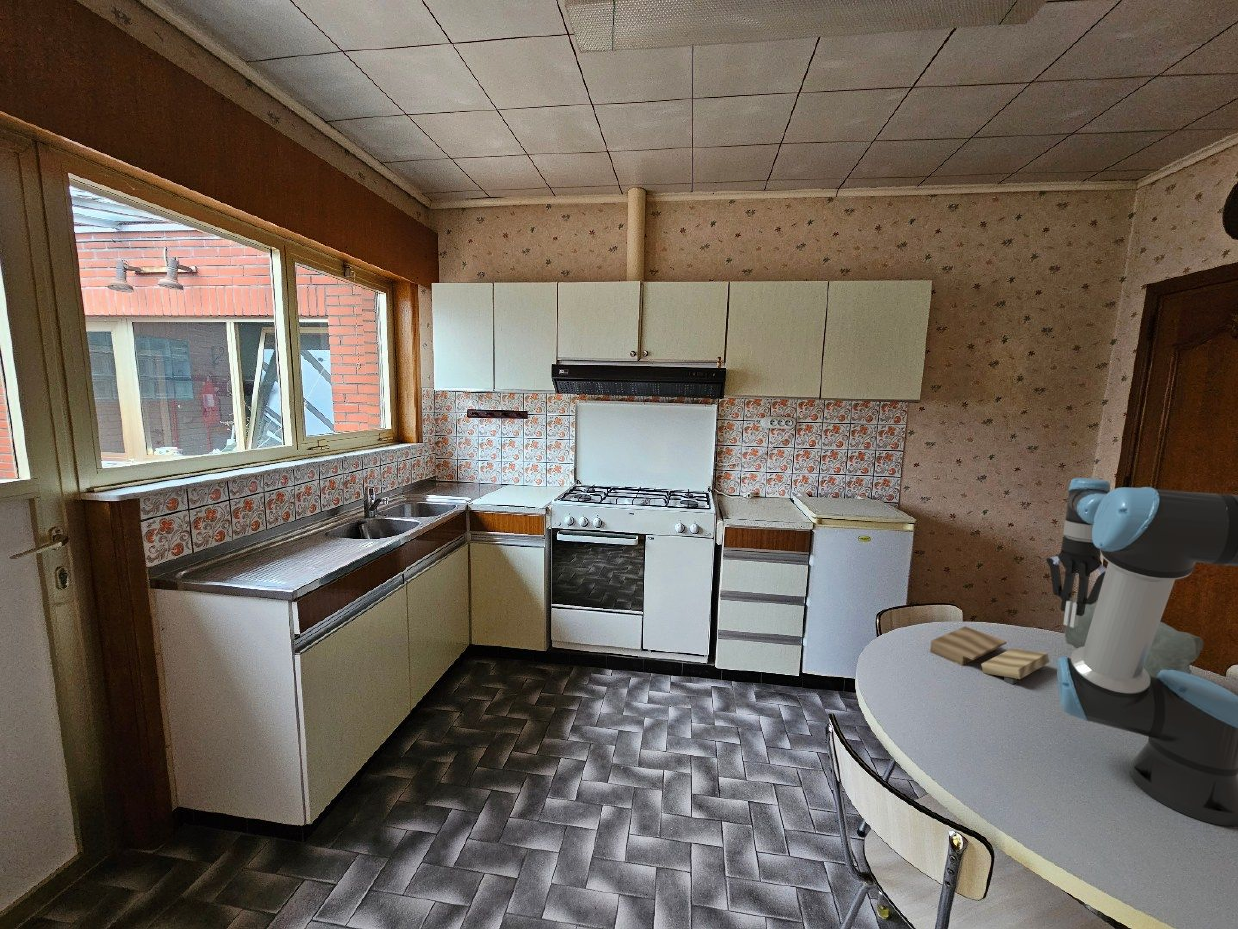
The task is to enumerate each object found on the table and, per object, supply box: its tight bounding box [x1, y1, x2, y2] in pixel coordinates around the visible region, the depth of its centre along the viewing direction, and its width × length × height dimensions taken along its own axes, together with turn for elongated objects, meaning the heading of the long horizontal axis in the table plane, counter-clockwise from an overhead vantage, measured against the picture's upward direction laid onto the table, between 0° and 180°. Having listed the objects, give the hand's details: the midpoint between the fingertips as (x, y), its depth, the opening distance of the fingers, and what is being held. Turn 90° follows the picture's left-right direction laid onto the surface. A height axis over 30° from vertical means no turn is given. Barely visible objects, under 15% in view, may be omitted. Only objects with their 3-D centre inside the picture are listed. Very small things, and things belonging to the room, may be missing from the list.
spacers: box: [1003, 667, 1042, 685], centre depth 141 cm, size 17×2×2 cm, turn 120°
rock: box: [1064, 598, 1204, 677], centre depth 141 cm, size 27×6×20 cm, turn 42°
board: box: [929, 626, 1007, 666], centre depth 153 cm, size 20×12×4 cm, turn 120°
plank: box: [981, 648, 1050, 680], centre depth 143 cm, size 18×9×5 cm, turn 120°
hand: (1070, 625), depth 131 cm, fingers closed
